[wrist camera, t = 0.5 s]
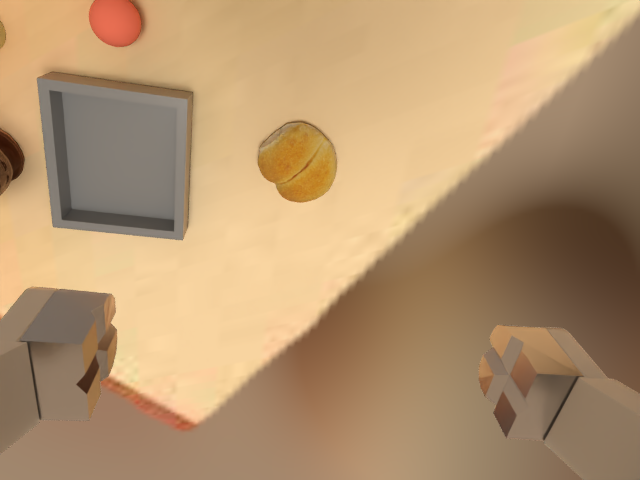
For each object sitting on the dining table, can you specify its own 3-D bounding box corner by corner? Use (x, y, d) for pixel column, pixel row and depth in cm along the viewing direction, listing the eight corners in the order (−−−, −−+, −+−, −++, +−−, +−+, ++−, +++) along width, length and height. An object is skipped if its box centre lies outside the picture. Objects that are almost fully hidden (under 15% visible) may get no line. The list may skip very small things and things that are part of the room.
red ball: (97, -11, 45) (79, -10, 41) (146, -2, 46) (133, -1, 42) (99, 40, 47) (83, 45, 43) (146, 47, 48) (134, 53, 44)
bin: (52, 71, 48) (36, 77, 45) (192, 92, 50) (187, 99, 47) (65, 213, 56) (52, 227, 53) (187, 226, 58) (182, 240, 55)
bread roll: (296, 208, 58) (298, 222, 55) (247, 153, 54) (245, 165, 51) (351, 167, 56) (356, 179, 53) (303, 107, 52) (305, 116, 49)
